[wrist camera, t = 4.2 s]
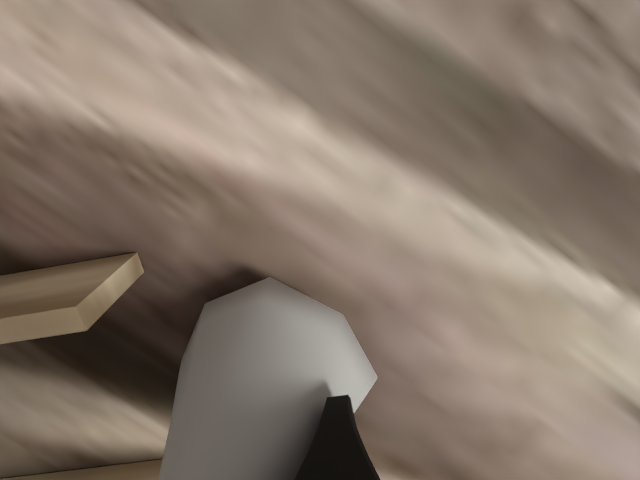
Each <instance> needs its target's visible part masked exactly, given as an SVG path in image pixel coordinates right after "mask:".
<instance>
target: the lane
mask: <svg viewBox="0 0 640 480" xmlns="http://www.w3.org/2000/svg"><path fill="white" fill-rule="evenodd" d="M143 273H144V270H143V267H142V264H141V261H140V259H139V256H138V253H137V252H136V253H130V254H125V255H119V256H113V257H107V258H101V259H95V260H90V261H84V262H78V263H72V264H66V265H60V266H54V267H49V268H43V269H37V270H31V271H25V272H19V273H14V274H8V275H2V276H0V344H5V343H11V342H18V341H24V340H30V339H37V338H43V337H50V336H56V335H63V334H69V333H76V332H82V331H87V330H88V329H89V328H90V327H91V326H92V325H93V324H94V323H95V322H96V321H97V320H98V319H99V318H100V317H101V316H102V315H103V313H104V312H105V311H106V310H107V309H108V308H109V307H110V306H111V305H112V304H113V303H114V302H115V301H116V300H117V299H118V298H119V297H120V296H121V295H122V294H123V293H124V292H125V291H126V290H127V289H128V288H129V287H130V286H131V285H132V284H133V283H134V282H135V281H136V280H137V279H138V278H139V277H140V276H141V275H142V274H143ZM162 460H163V459H161V460H153V461H145V462H136V463H128V464H120V465H112V466H104V467H95V468H87V469H79V470H71V471H63V472H54V473H46V474H38V475H30V476H22V477H13V478H5V479H0V480H158V478H159V473H160V469H161V464H162Z"/></svg>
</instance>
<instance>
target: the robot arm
mask: <svg viewBox="0 0 640 480" xmlns="http://www.w3.org/2000/svg"><path fill="white" fill-rule="evenodd" d="M294 480H380V478H379V476H378V474H377V472H376V470H375V468H374V466H373V464H372V462H371V460H370V458H369V456H368V454H367V452H366V450H365V447H364V445H363V442H362V440H361V438H360V435H359V432H358V430H357V427H356V423H355V418H354V413H353V408H352V403H351V398H350V397H349V395H341V396H333V397H327V399H326V402H325V406H324V410H323V413H322V416H321V419H320V422H319V425H318V428H317V430H316V433H315V435H314V438H313V440H312V443H311V445H310V447H309V450H308V452H307V454H306V457H305V459H304V461H303V463H302V465H301V467H300V469H299V471H298V473H297V475H296V477H295V479H294Z"/></svg>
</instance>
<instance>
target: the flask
mask: <svg viewBox="0 0 640 480" xmlns="http://www.w3.org/2000/svg"><path fill="white" fill-rule="evenodd" d="M377 378H378V377H377V375H376V373H375V372H374V370H373V368H372V366H371V364H370V362H369V361H368V359H367V357H366V355H365V353H364V351H363V350H362V348H361V346H360V344H359V342H358V341H357V339H356V337H355V335H354V333H353V331H352V330H351V328H350V326H349V324H348V322H347V321H346V319H345V317H344V315H343V314H341V313H339V312H337V311H335V310H333V309H331V308H329V307H327V306H325V305H324V304H322V303H320V302H318V301H316V300H314V299H312V298H310V297H308V296H306V295H304V294H302V293H300V292H298V291H296V290H294V289H292V288H290V287H289V286H287V285H285V284H283V283H281V282H279V281H277V280H275V279H273V278H271V277H269V278H266V279H264V280H261V281H259V282H256V283H254V284H251V285H249V286H246V287H244V288H241V289H239V290H237V291H234V292H232V293H229V294H227V295H224V296H222V297H219V298H217V299H214V300H212V301H209V302H207V303H205V304H204V307H203V309H202V312H201V314H200V316H199V319H198V321H197V323H196V326H195V328H194V331H193V333H192V335H191V338H190V340H189V342H188V345H187V347H186V349H185V352H184V354H183V357H182V361H181V366H180V370H179V375H178V381H177V387H176V393H175V399H174V405H173V411H172V417H171V423H170V428H169V432H168V437H167V441H166V446H165V450H164V455H163V460H162V464H161V469H160V473H159V478H158V480H294V479H295V477H296V475H297V473H298V471H299V469H300V467H301V465H302V463H303V461H304V459H305V457H306V454H307V452H308V450H309V447H310V445H311V443H312V440H313V438H314V435H315V433H316V430H317V428H318V425H319V422H320V419H321V416H322V413H323V410H324V406H325V402H326V399H327V397H333V396H341V395H349V397H350V398H351V403H352V408H353V413H354V412H355V411H356V410H357V408H358V407H359V405H360V404H361V402H362V401H363V400H364V398H365V397H366V395H367V394H368V392H369V391H370V389H371V387H372V386H373V384H374V383H375V381H376V380H377Z"/></svg>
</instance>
